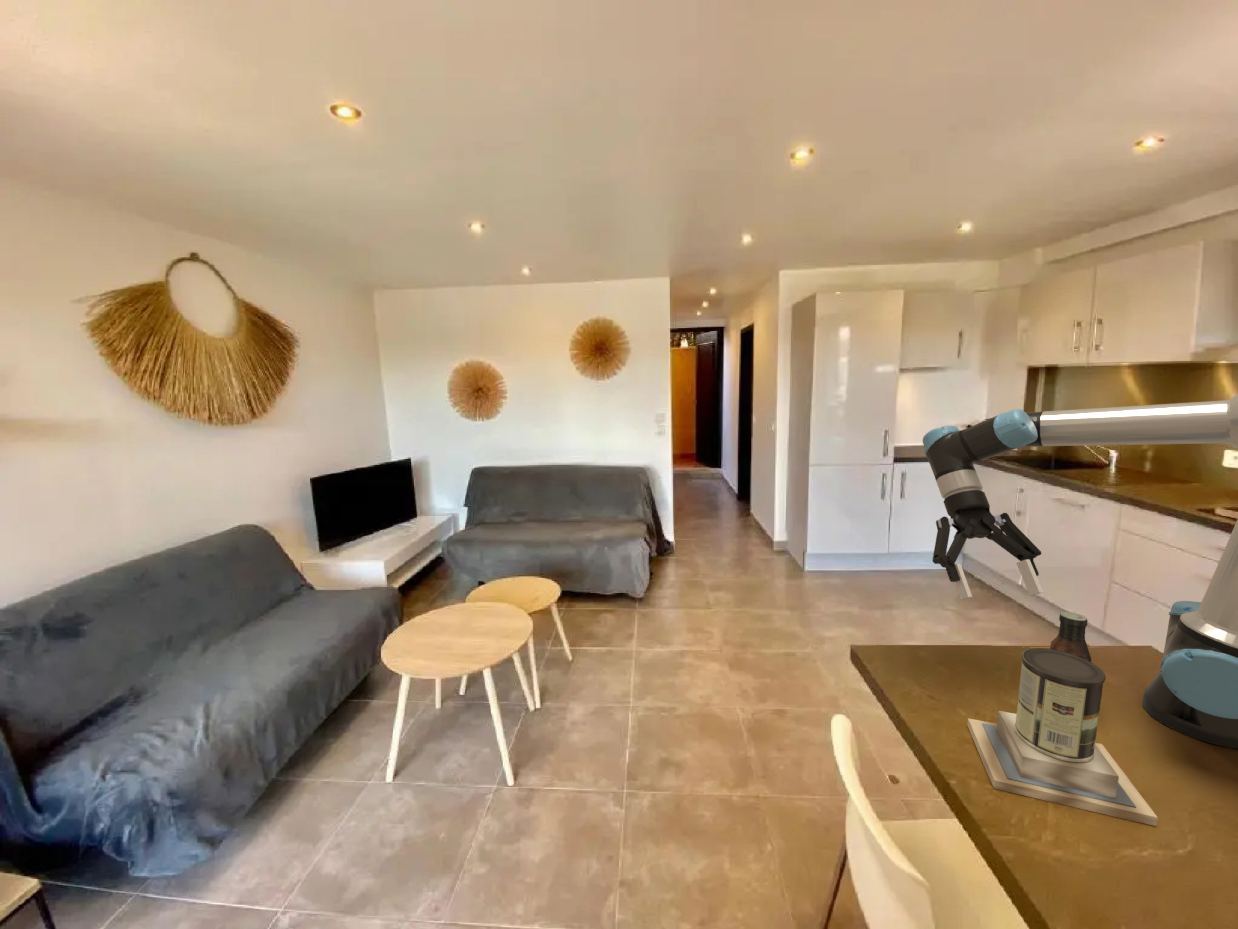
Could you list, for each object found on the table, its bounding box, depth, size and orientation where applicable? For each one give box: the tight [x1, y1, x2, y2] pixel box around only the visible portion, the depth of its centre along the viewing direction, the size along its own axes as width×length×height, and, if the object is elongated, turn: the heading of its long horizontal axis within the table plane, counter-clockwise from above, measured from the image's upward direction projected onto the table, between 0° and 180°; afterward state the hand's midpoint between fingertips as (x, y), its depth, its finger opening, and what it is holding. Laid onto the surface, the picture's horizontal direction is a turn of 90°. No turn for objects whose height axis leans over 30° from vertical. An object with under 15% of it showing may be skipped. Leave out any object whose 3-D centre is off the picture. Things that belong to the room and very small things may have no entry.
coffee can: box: [1015, 647, 1106, 763], centre depth 82 cm, size 10×10×14 cm
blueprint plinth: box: [967, 710, 1159, 827], centre depth 84 cm, size 20×16×6 cm
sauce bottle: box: [1049, 611, 1092, 663], centre depth 98 cm, size 7×6×20 cm
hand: (1001, 596), depth 96 cm, fingers open, 13 cm apart
